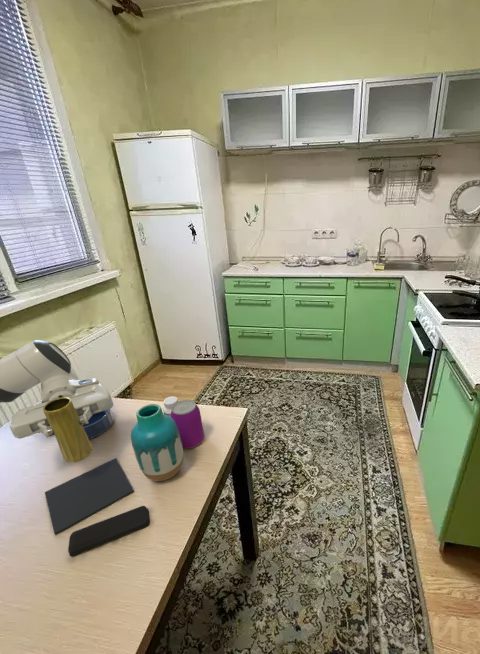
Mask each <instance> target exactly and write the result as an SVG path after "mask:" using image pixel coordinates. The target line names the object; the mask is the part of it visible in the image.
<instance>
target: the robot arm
mask: <svg viewBox="0 0 480 654" xmlns="http://www.w3.org/2000/svg"><path fill="white" fill-rule="evenodd" d="M39 384H40V391H41V393H40V400H41V401H40V402H41V403H37V404H34V405H31V406H28V407H24V408H21V409H19V410H18V411H16V412H15V413H14V414H13V415H12V416H11V421H10V424H9V429H10V431H11V434H12V435H13V436H14V438H16V439H24V438H27V437H30V436H33V435H36V434H39V433H41V434H44V435H45V437H46V438H47V439H48V438H50V437H53V436H54V437H55V434H54V432H53V430H52V428H51V426H50V424H49V422H48V420H47V418H46V416H45V414H44V411H43V407H44V406H45V405H46V404H47V403H48V402H50V401H52V400H54V399H57V398H63V397H67V398H70V399H71V401H72V403H73V406H74V408H75V410H76V413H77V415H78V417H79V421H80V423H81V426H82V425H85V424H88V420H89V419H90V417H91V416H92V414H95V413H98V412H101V411H104V410H107V409H110V408H111V409H112V407H114V402H113V399H112V396H111V394H110V392H109V390H108V388H107V387H106V386H105V385H103V384H101V383H100V381H99V379H98V378H97V377H96V378H95V377H94V378H92V377H91V378H85V379H80V377H79V375H78V373H77V372H76V370H75V369H74V368H73V366H72V363H71V360H70V359H69V357H68V356H67V355H66V353H65V352H64V351H63V350H62V349H61V348H60V347H59V346H58V345H56V344H54V343H53V342H50V341H46V340H41V339H34V340H33V341H30V342H28V343H27V344H25V345H23V346H21V347H19V348H17V349H16V350H15V351H12V352H11V353H9V354H7V355H5V356H3V357H2V358H0V403H12V402H14V401H15V400H16V399H18V398H20V397H21V396H22V395H23V394H25V393H26V392H27V391H29V390H30V389H32V388H34V387H36V386H37V385H39Z"/></svg>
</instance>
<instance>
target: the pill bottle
mask: <svg viewBox="0 0 480 654" xmlns="http://www.w3.org/2000/svg"><path fill="white" fill-rule="evenodd" d="M177 402H179V398H178V397H177V396H167V397H165V398H164V400H163V406H164V407H162V412H163V414H165V415H168V416H170V415H171V410H172V406H173V405H174V404H175V403H177ZM170 417H171V416H170Z"/></svg>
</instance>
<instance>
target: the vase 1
mask: <svg viewBox="0 0 480 654" xmlns="http://www.w3.org/2000/svg"><path fill="white" fill-rule="evenodd" d="M43 411H44V414H45V416H46V418H47V420H48V422H49V424H50V426H51V428H52V430H53V432H54V434H55V435H54V437H55V439H56V442H57V445H58V447H59V450H60V452H61V455H62V459H63V461H64V462H66V463H76V462H77V463H78V462H79V461H82V460H84V459H85V458H87V457H88V456H90V454H91V453H92V451H93V450H94V446H93V444H92V443H91V441H90V439H88V436H87V434H86V432H85V430H84V428H83V426H81V423H80V421H79V417H78V415H77V413H76V410H75V408H74V406H73V403H72V401H71V399H70V398H67V397H63V398H57V399H54V400H52V401H50V402H48V403H47V404H46V405H45V406H44V407H43Z"/></svg>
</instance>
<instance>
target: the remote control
mask: <svg viewBox="0 0 480 654" xmlns="http://www.w3.org/2000/svg"><path fill="white" fill-rule="evenodd" d="M150 521H151V520H150V512H149V509H148V508H147V506H145V505H140V506H138V507H135V508H133V509H130V510H127V511H124V512H122V513H119V514H116V515H114V516H111V517H109V518H106V519H104V520H100V521H98V522H96V523H92V524H90V525H88V526H85V527H83V528H82V527H81V528H79V529H76V530H75V531H72V533H71V534H70V535H69V541H68V548H67V550H68V556H69V557H71V558H72V557H76V556H78V555H80V554H81V555H82V554H83V553H85V552H88V551H91V550H93V549H95V548H99V547H101V546H103V545H106V544H108V543H111V542H113V541H115V540H118V539H120V538H124V537H126V536H129V535H131V534H133V533H136V532H138V531H141V530H143V529H146V528H147V527H149V526H150Z"/></svg>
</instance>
